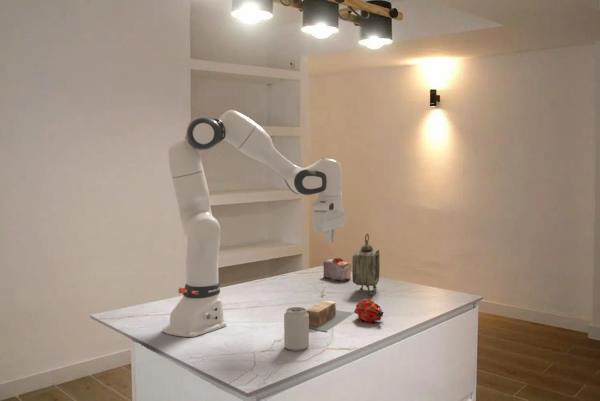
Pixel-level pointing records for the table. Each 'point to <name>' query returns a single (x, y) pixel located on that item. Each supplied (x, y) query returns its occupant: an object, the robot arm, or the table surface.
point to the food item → (337, 269)
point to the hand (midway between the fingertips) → (330, 241)
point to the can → (296, 329)
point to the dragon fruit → (368, 311)
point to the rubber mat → (331, 321)
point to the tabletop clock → (366, 266)
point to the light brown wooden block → (321, 313)
